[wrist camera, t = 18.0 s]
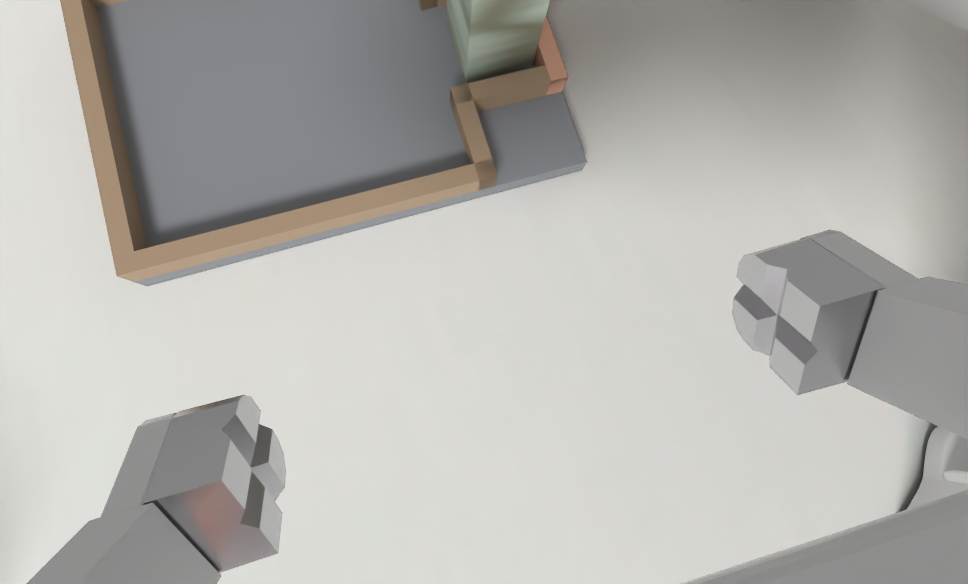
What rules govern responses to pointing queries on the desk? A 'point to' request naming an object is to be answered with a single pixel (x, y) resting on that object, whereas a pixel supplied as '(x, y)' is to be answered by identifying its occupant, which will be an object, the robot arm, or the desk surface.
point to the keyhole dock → (295, 123)
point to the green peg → (495, 34)
